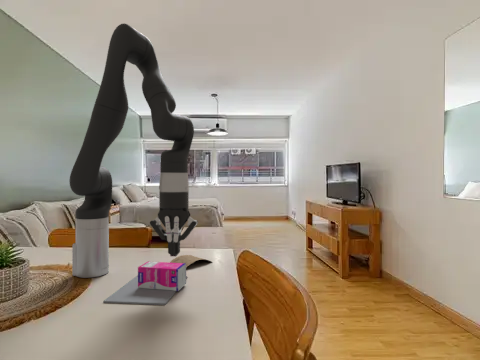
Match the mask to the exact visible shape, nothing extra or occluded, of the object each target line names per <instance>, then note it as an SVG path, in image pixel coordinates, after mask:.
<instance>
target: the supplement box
mask: <svg viewBox="0 0 480 360" xmlns="http://www.w3.org/2000/svg"><path fill="white" fill-rule="evenodd" d="M137 275H138V288H146V289H159V290H172V291H176V292H179V291H180V290H181V289H182V288H183V287H184V286H185V285H187V279H186V276H187V267H186V264H185V263H170V262H169V261H168V262H165V261H150V260H149V261H146V262H144V263H142V264H141V265H139V266H138V267H137Z"/></svg>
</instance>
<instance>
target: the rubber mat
mask: <svg viewBox="0 0 480 360" xmlns="http://www.w3.org/2000/svg"><path fill="white" fill-rule="evenodd" d="M187 278H188V275H186V280H187ZM176 292H177V291H172V290H159V289H146V288H138V274H137V275H136V276H135V277H133V278H132V279H131V280H129V281H128V282H127V283H125V284H124V285H123V286H122V287H120V288H119V289H117V290H116V291H115V292H113V293H112V294H110V295H109V296H108V297H107V298H105V300H103V302H102V303H104V304H106V303H108V304H127V305H129V304H130V305H131V304H133V305H150V306H151V305H153V306H154V305H155V306H156V305H157V306H158V305H159V306H167V304H168V302H169V301H170V300H171V298H172V297H173V296H174V295H175V294H176Z"/></svg>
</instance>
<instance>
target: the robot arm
mask: <svg viewBox="0 0 480 360" xmlns="http://www.w3.org/2000/svg"><path fill="white" fill-rule="evenodd" d="M155 51H156V50H155V48H154V46H153V43H152V41H151V40H150V39H149V37H147V36H146V35H145V34H143V33H141V31H139V30H137V29H135V28H134V27H132V25H129V24H128V23H121V24H119V25H117V26H116V27H115V29H114V30H113V32H112V35H111V37H110V40H109V44H108V49H107V53H106V61H105V67H104V70H103V74H102V78H101V83H100V85H99V90H98V92H97V96H96V99H95V100H94V101H95V102H94V103H93V109H92V112H91V116H90V120H89V123H88V126H87V129H86V132H85V135H84V138H83V142H82V145H81V148H80V150H79V153H78V154H77V157H76V160H75V162H74V165H73V167H72V168H71V172H70V175H69V187H70V189H71V192H73V194H74V195H76V196H81V197H84V201H83V202H82V204H80V206H78V207H77V208H76V210H75V217H74V218H75V243H73V244H72V248H71V249H72V252H71V253H72V260H71V261H72V263H71V264H72V269H71V270H72V272H71V273H72V276H73V277H74V276H75V277H78V278H85V279H87V278H97V277H101V276H104V275H106V274H109V267H110V265H109V263H110V260H109V257H110V252H109V249H110V246H109V245H110V244H109V243H110V241H109V240H110V239H109V237H110V236H109V235H110V229H109V226H110V224H109V222H110V221H109V216H110V214H109V213H110V210H111V207H112V202H113V201H112V200H113V177H112V174H111V172H110V170H109V169H107V167H105V166H102V162H103V158H104V157H105V156H104V155H105V154H106V152H107V151H108V149H109V148H110V146H111V145H112V144H113V143H114V142H115V140H116V139H117V138H118V136H119V135H120V134H121V132H122V130H123V128H124V125H125V121H126V119H127V115H128V111H129V100H128V95H127V90H126V86H125V77H124V76H125V70H126V64H127V62H128V63H130V64H132V65H134V66H136V67H137V69H138V70H139V71H140V73H141V74H142V82H141V89H142V94H143V97H144V100H145V101H146V104H147V105H148V107H149V109H150V115H151V122H152V130H153V132H154V133H155V135H156V136H157V138H159V139H161V140H164V141H167V142H169V141H170V142H173V144H172V147H171V149H167V150H164V151H161V153H160V168H159V169H160V170H159V172H160V175H159V185H158V190H159V199H158V200H159V205H158V207H159V209H158V210H159V211H158V213H157V216H156V217H155V218H154V219H152V220H150V221H149V225H150V226H151V227H152V229H153V230H154V231H155V233H156V234H157V235H158V237H159V238H160V240H162V241H163V240H164V241H167V253H168V255H169V256H170V257H178V255H179V254H180V252H181V242H182V241H184V240H186V239H187V238H188V237H189V235H190V234H191V232H192V231H194V229H195V228H196V226H197V225H198V223H199V221H198V220H197V219H194V218H193V217H191V213H190V210H189V205H190V204H189V203H190V202H189V199H190V198H189V190H190V189H189V187H190V186H189V185H190V184H189V183H190V181H189V176H188V175H189V174H188V171H189V170H188V167H189V166H188V159H189V155H190V150H191V146H192V143H193V139H194V135H195V128H194V123H193V122H192V120H191V119H190V118H189V117H188V116H186V115H179V114H175V113H174V111H175V109H176V108H177V107H176V106H177V104H176V101H175V98H174V96H173V94H172V93H171V92H172V91H170V89H169V87H168V84H167V82H166V80H165V78H164V77H163V74H162V71H161V68H160V64H159V61H158V58H157V55H156V52H155ZM186 223H187V228H186V229H185V230H184V232H183V233H182V229H183V227H184V226H185V225H186ZM161 224H162V225H163V226H164V228H165V229H164V228H163V226H162V225H161Z"/></svg>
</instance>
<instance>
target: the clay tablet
mask: <svg viewBox="0 0 480 360" xmlns="http://www.w3.org/2000/svg"><path fill="white" fill-rule="evenodd" d="M199 260H202V261H207V262H210V263H212V261H211V260H208V259H206V258H202V257H198V256H195V255H191V254H183V255H182V254H181V255H179V256H178V255H177V256H175V258H173V259H172V260H170V261H169V263H185V264H186V268H187V267H188V266H190V265H191V264H194V263H195V262H196V261H199Z"/></svg>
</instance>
